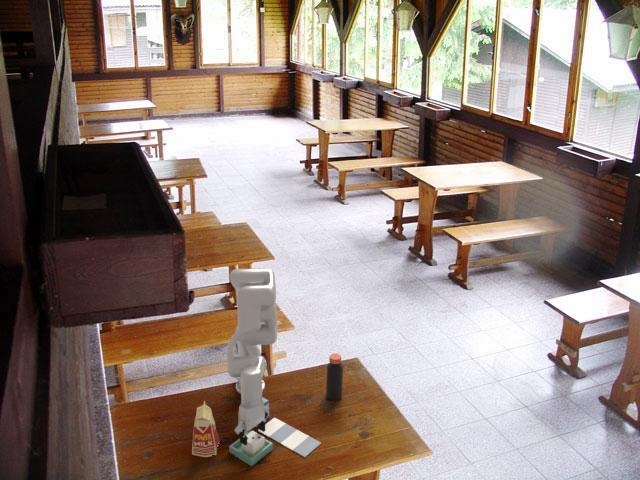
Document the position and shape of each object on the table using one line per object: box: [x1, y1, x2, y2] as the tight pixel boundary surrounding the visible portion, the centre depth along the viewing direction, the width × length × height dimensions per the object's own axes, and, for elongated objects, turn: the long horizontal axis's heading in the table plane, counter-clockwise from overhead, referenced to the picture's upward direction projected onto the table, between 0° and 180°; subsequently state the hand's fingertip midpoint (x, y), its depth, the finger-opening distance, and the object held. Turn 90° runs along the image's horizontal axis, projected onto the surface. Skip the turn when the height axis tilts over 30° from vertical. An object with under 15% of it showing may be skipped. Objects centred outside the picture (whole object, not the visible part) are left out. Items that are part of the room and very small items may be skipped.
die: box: [242, 430, 266, 457], centre depth 240 cm, size 6×6×6 cm
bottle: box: [325, 353, 344, 402], centre depth 270 cm, size 7×7×20 cm
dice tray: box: [228, 429, 274, 467], centre depth 241 cm, size 12×12×3 cm
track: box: [257, 417, 322, 458], centre depth 249 cm, size 24×10×1 cm, turn 52°
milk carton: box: [191, 400, 221, 458], centre depth 238 cm, size 9×9×20 cm
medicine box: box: [254, 396, 270, 428], centre depth 257 cm, size 8×4×9 cm, turn 143°
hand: (252, 436), depth 238 cm, fingers open, 9 cm apart
